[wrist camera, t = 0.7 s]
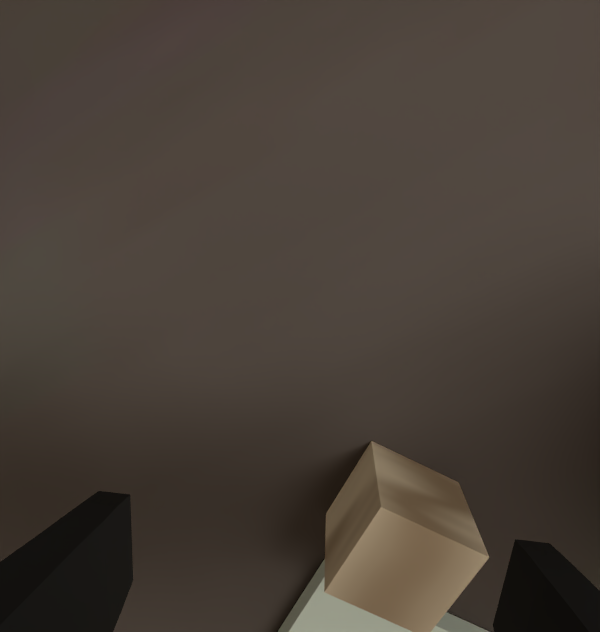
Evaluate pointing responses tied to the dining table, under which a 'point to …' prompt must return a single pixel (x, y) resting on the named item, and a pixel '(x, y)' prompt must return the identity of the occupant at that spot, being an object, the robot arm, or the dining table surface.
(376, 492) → the maple block
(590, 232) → the dining table surface
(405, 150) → the dining table surface
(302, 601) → the coaster
